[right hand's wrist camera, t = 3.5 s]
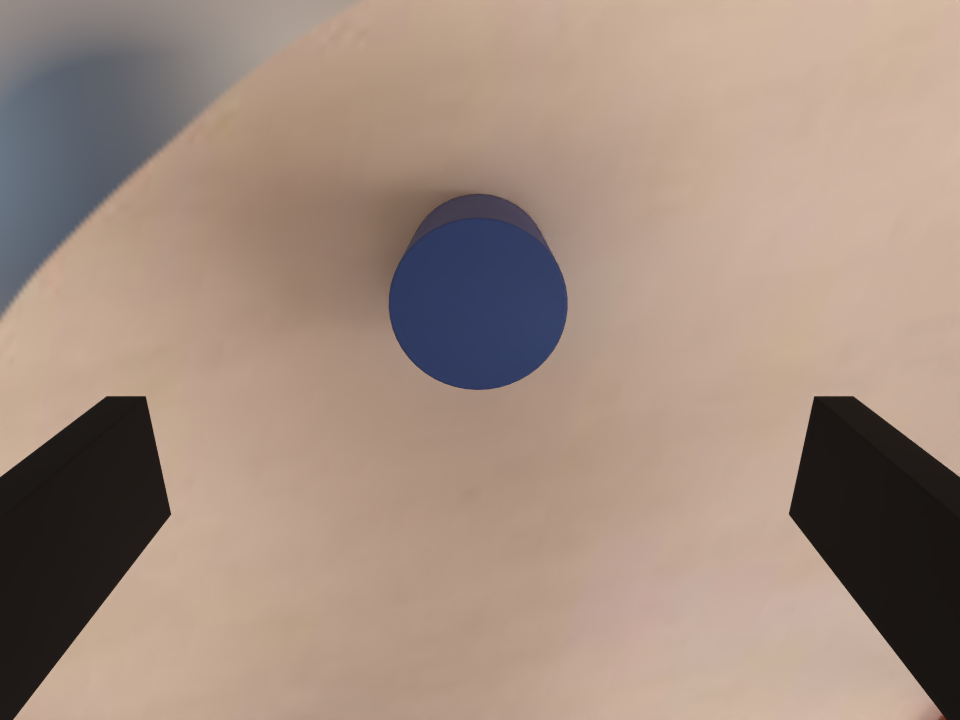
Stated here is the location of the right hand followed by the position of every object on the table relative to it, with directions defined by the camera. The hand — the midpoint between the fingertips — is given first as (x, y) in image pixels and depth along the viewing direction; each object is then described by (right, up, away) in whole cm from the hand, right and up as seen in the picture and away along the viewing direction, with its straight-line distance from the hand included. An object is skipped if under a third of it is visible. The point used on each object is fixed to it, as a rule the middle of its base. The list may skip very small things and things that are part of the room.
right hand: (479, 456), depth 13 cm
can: (0, +6, +17) cm, 18 cm away
